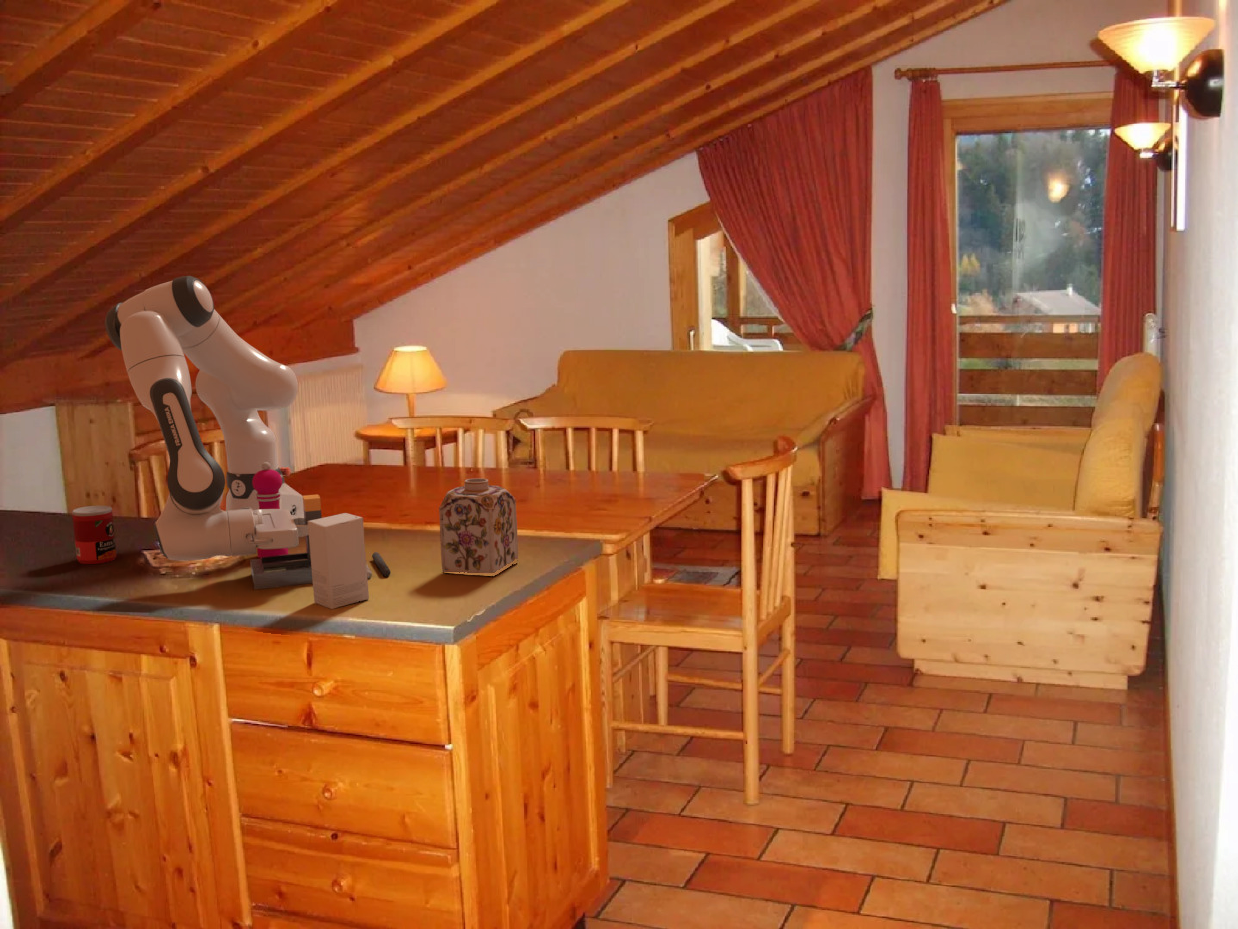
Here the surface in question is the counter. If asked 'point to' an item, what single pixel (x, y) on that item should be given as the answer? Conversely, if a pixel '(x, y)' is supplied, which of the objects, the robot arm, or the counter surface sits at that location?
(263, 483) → the pepper mill
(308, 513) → the lever
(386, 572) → the dark grey capsule
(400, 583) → the counter surface
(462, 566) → the decorative jar
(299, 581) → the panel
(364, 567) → the skincare box
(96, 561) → the canned food
